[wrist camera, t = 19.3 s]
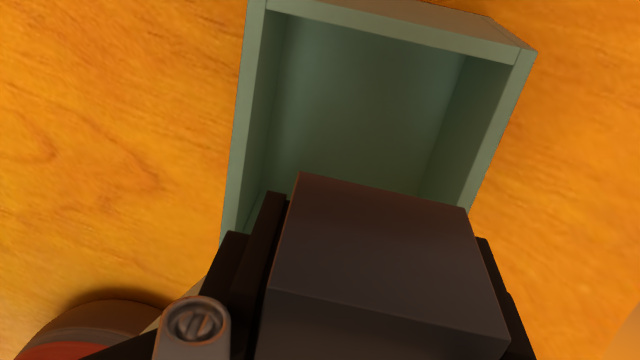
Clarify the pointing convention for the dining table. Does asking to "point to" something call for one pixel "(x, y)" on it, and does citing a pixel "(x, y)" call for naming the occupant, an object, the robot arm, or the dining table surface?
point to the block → (377, 280)
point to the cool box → (369, 99)
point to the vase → (89, 330)
